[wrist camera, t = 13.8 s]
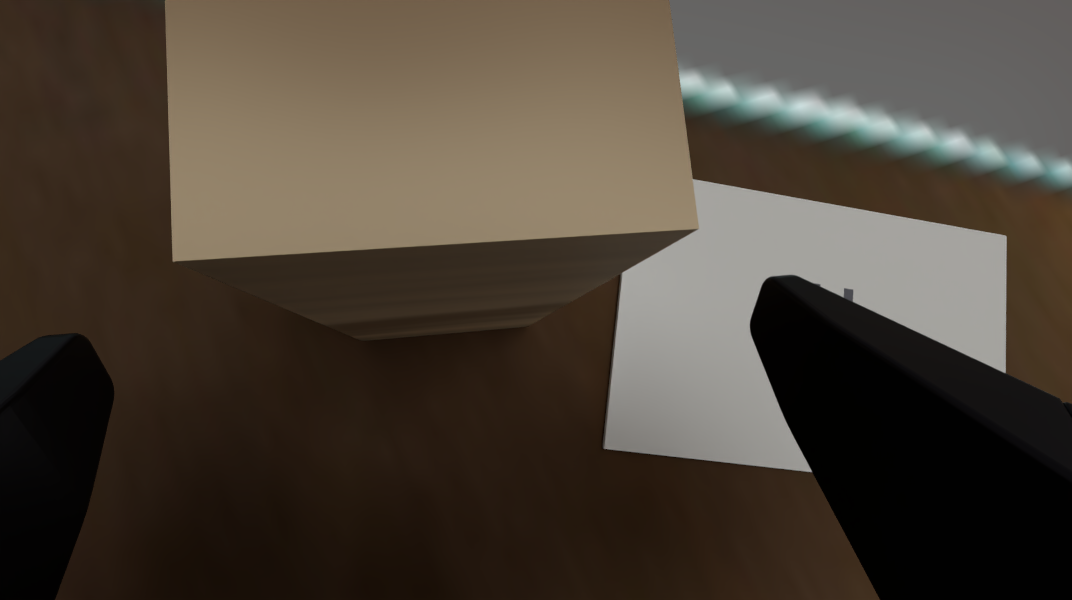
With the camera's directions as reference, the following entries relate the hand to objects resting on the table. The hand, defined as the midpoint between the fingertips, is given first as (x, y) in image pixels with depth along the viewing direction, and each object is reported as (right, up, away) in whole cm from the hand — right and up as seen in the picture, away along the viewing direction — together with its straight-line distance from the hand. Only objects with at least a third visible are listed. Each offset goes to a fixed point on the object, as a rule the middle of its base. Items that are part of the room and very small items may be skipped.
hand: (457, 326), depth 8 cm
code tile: (+11, -1, +12) cm, 16 cm away
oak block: (-2, +2, +10) cm, 10 cm away
